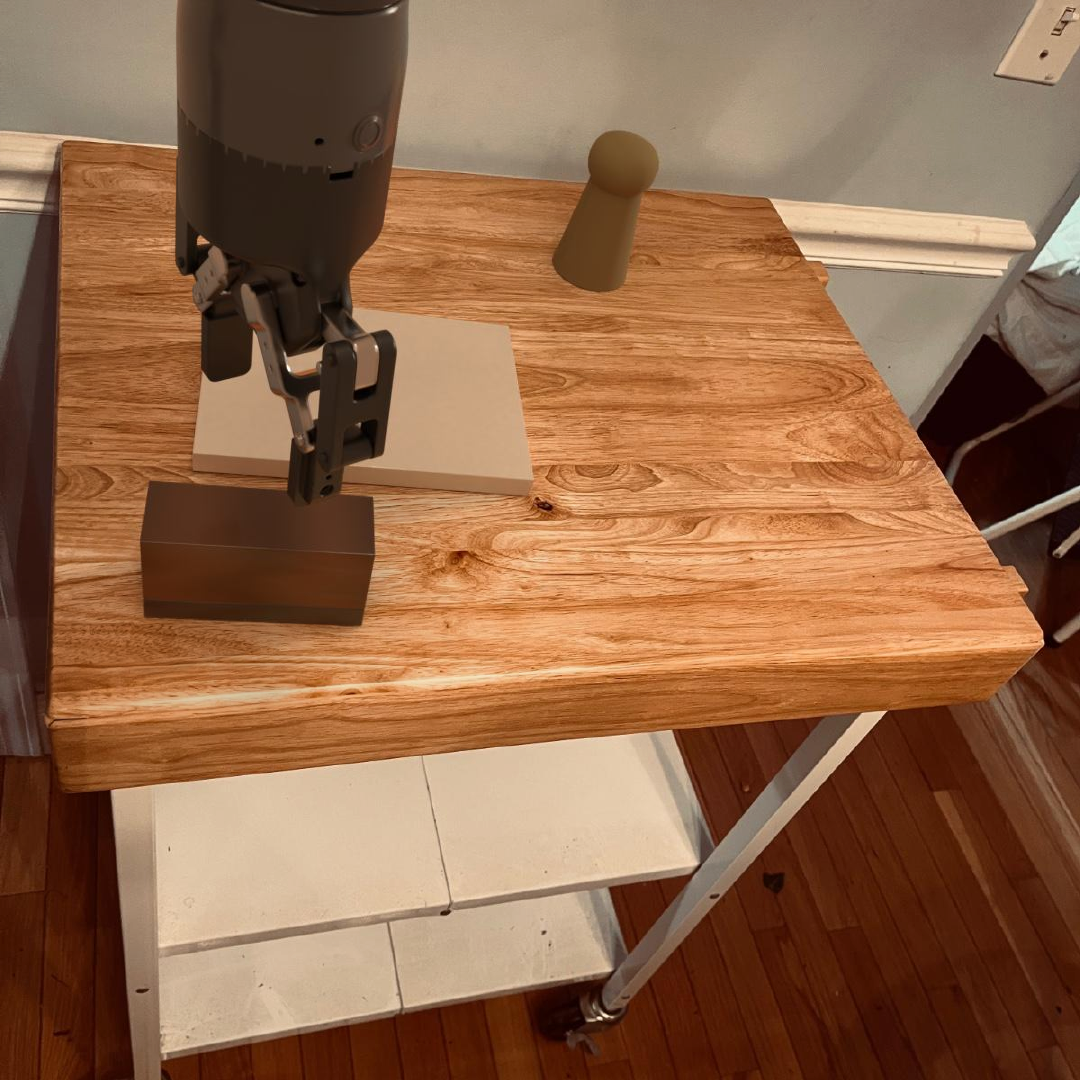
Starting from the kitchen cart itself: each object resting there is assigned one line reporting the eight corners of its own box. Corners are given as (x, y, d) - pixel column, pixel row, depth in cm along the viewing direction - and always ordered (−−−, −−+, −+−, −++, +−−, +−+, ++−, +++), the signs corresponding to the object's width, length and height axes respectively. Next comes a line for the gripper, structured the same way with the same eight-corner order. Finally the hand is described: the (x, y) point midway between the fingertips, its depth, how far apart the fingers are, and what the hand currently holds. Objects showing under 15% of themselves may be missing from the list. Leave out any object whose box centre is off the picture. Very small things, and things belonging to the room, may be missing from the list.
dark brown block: (143, 617, 54) (139, 541, 50) (152, 557, 57) (149, 479, 52) (361, 626, 57) (375, 555, 53) (360, 568, 60) (373, 495, 55)
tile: (192, 471, 61) (192, 452, 60) (211, 308, 71) (211, 290, 70) (528, 496, 67) (534, 480, 65) (504, 341, 76) (509, 325, 75)
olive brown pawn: (614, 248, 88) (657, 123, 80) (634, 294, 84) (680, 168, 76) (544, 242, 86) (581, 114, 78) (562, 289, 82) (602, 159, 74)
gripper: (101, 4, 38) (123, 355, 50) (288, 232, 32) (263, 571, 44) (292, -5, 42) (271, 322, 54) (492, 196, 36) (419, 516, 48)
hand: (268, 433), depth 49 cm, fingers open, 8 cm apart
